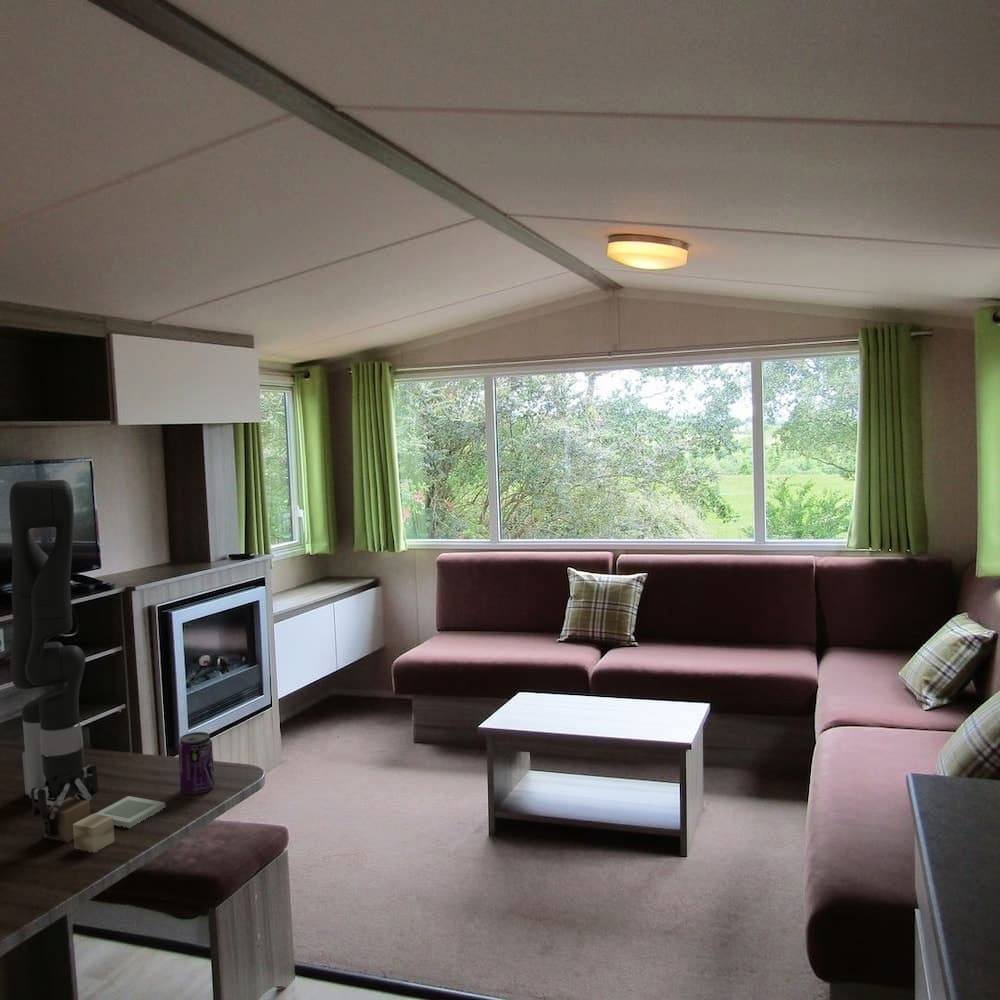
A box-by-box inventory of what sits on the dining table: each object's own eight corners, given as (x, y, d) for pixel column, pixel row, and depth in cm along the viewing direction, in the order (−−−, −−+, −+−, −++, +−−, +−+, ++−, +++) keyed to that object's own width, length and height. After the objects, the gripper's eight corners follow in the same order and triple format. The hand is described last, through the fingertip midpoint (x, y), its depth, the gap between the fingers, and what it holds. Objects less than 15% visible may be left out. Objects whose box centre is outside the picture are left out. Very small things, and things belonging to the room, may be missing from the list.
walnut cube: (44, 838, 185) (42, 809, 185) (69, 825, 191) (67, 797, 190) (67, 843, 183) (65, 813, 182) (91, 830, 189) (89, 801, 188)
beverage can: (204, 797, 203) (201, 743, 201) (174, 795, 204) (171, 741, 203) (220, 784, 210) (217, 731, 208) (191, 782, 211) (188, 730, 210)
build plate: (92, 820, 192) (91, 814, 192) (128, 801, 202) (128, 795, 201) (129, 828, 189) (129, 822, 188) (165, 808, 198) (165, 802, 198)
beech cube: (74, 849, 180) (72, 824, 180) (95, 838, 185) (93, 813, 184) (94, 853, 178) (92, 828, 178) (114, 842, 183) (112, 817, 182)
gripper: (76, 733, 193) (82, 810, 195) (17, 757, 180) (23, 840, 182) (104, 737, 190) (110, 815, 192) (46, 762, 177) (52, 846, 179)
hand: (68, 827), depth 187 cm, fingers open, 7 cm apart
